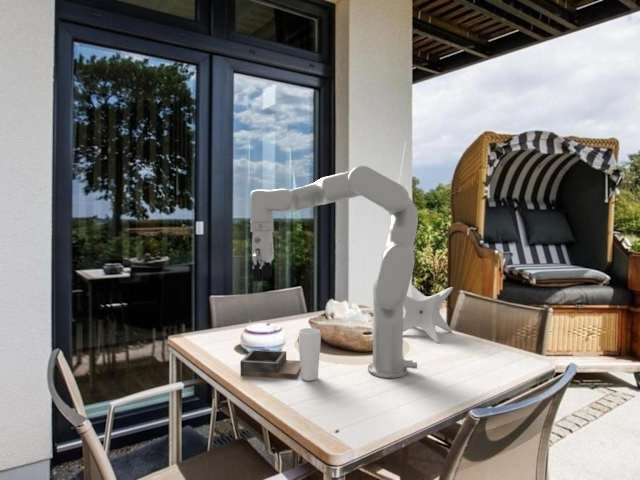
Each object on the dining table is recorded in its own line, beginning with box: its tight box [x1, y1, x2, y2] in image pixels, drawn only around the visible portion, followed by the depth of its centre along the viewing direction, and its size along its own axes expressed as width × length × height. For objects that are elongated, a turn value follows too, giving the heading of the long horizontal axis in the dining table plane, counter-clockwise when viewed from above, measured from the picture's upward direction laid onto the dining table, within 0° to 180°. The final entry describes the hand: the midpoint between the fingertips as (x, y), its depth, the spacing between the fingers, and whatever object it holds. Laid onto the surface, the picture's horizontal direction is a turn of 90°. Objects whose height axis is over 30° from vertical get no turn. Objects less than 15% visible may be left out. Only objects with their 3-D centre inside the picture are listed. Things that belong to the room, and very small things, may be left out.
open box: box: [240, 349, 301, 380], centre depth 139 cm, size 18×12×4 cm, turn 81°
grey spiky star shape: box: [403, 283, 454, 344], centre depth 182 cm, size 20×20×20 cm
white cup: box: [298, 327, 322, 382], centre depth 132 cm, size 7×7×15 cm
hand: (262, 278), depth 141 cm, fingers open, 9 cm apart
